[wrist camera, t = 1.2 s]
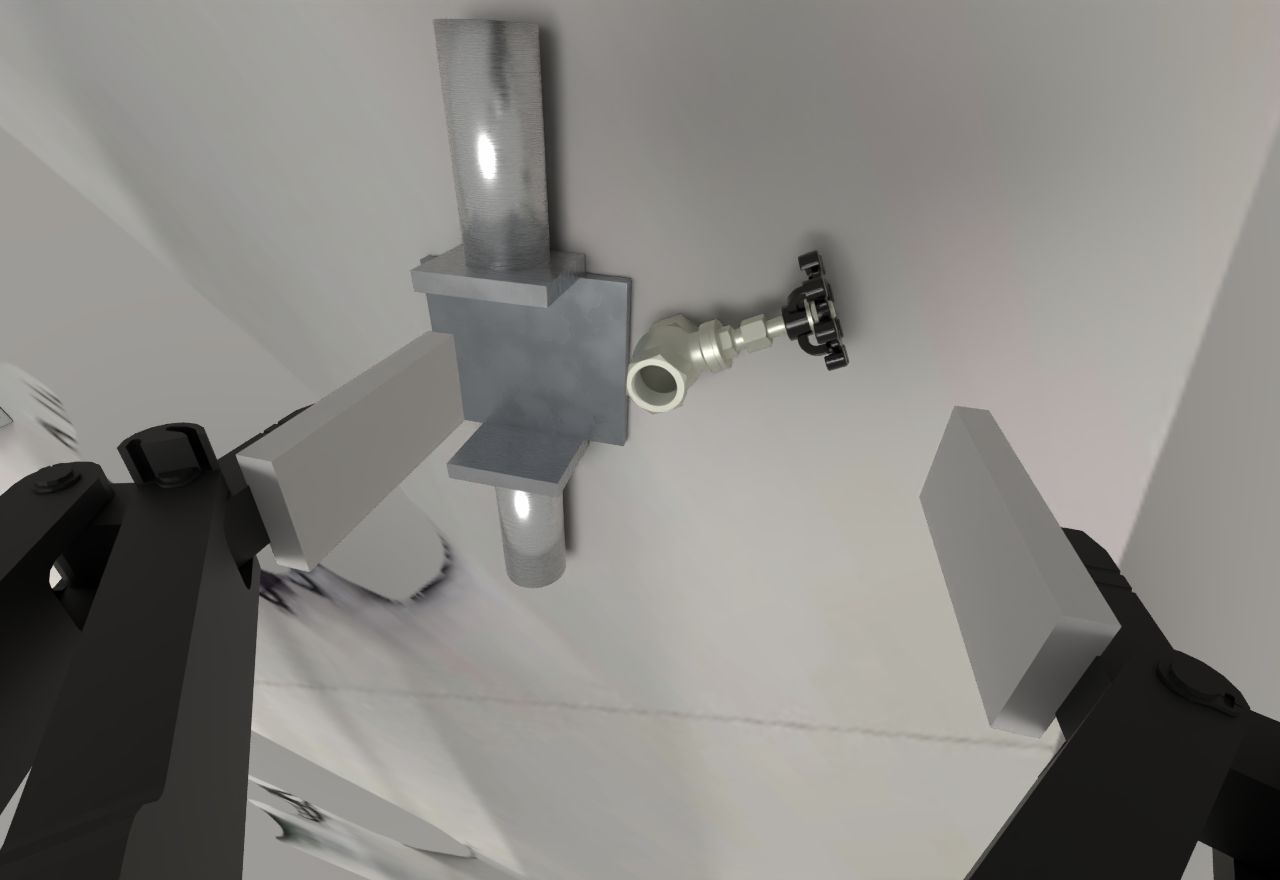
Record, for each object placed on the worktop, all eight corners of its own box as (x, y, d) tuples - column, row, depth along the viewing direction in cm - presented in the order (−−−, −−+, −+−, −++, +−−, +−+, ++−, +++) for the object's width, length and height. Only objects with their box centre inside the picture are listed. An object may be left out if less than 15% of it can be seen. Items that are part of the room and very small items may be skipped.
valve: (667, 392, 40) (846, 339, 35) (645, 443, 34) (853, 389, 29) (628, 304, 37) (816, 234, 32) (597, 345, 31) (818, 268, 27)
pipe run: (389, 22, 31) (303, 12, 26) (637, 29, 29) (599, 21, 23) (474, 530, 52) (436, 583, 46) (623, 560, 49) (601, 620, 44)
